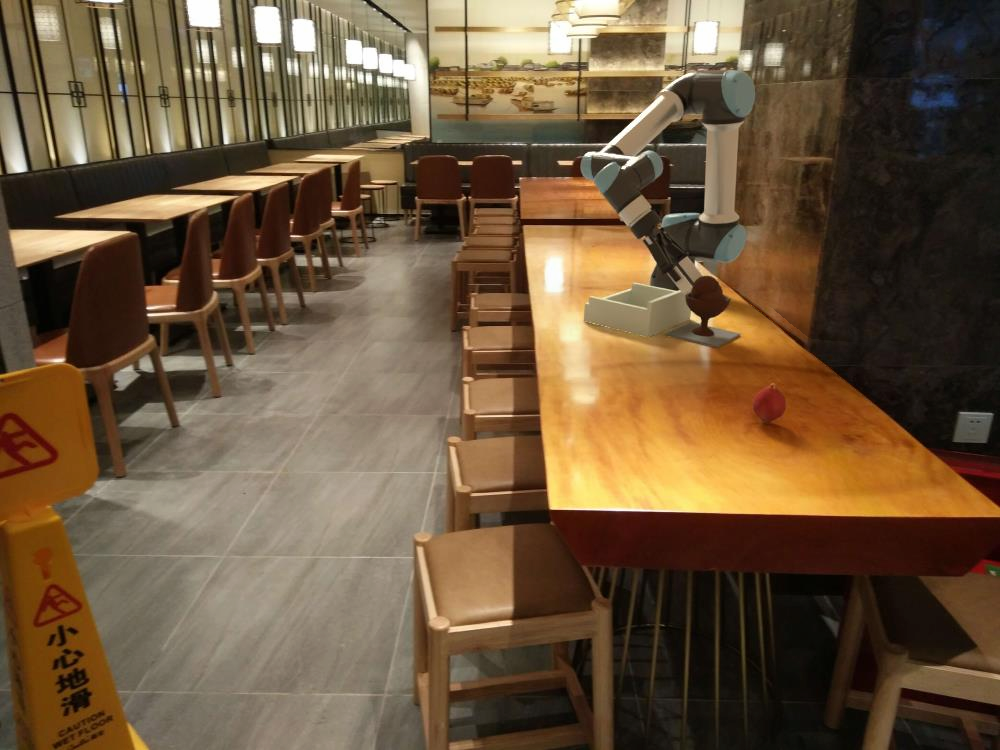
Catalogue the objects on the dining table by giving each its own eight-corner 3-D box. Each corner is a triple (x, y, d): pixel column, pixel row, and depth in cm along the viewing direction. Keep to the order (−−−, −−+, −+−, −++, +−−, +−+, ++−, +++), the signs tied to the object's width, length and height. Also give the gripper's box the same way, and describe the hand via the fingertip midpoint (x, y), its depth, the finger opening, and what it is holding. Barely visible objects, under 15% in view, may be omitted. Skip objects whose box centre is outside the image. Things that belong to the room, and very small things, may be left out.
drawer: (628, 305, 215) (631, 274, 212) (690, 319, 203) (694, 287, 200) (583, 321, 198) (586, 288, 195) (648, 337, 186) (651, 302, 183)
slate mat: (690, 324, 199) (690, 322, 198) (740, 335, 190) (740, 333, 190) (665, 335, 188) (665, 333, 188) (717, 347, 180) (717, 345, 180)
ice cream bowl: (727, 341, 184) (736, 281, 178) (681, 337, 186) (688, 278, 180) (723, 329, 193) (732, 272, 188) (680, 325, 195) (687, 269, 190)
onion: (744, 416, 141) (751, 377, 138) (774, 416, 142) (780, 377, 139) (757, 429, 136) (764, 388, 133) (787, 429, 136) (795, 388, 133)
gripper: (641, 221, 199) (690, 283, 198) (615, 235, 177) (670, 305, 177) (663, 202, 195) (713, 266, 194) (639, 215, 173) (696, 286, 173)
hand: (693, 284), depth 186 cm, fingers open, 13 cm apart
